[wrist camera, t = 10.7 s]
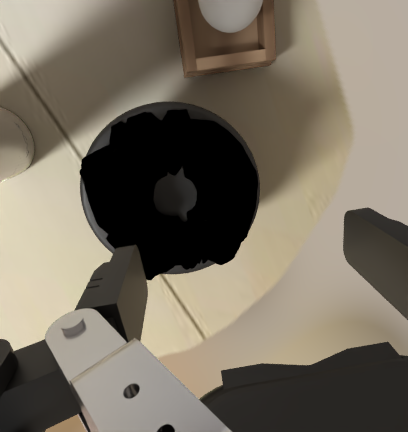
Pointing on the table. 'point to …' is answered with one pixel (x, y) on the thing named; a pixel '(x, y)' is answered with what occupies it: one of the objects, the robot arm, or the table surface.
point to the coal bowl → (170, 187)
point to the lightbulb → (230, 13)
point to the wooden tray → (223, 41)
